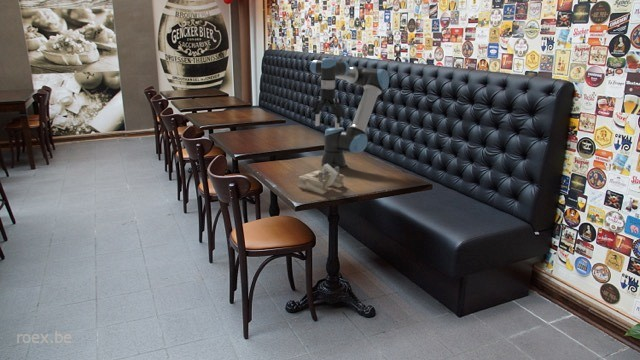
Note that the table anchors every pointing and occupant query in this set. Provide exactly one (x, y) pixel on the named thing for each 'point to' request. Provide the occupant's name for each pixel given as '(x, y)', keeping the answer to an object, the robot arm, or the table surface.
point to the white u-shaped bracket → (331, 171)
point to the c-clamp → (320, 181)
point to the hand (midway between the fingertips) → (327, 127)
